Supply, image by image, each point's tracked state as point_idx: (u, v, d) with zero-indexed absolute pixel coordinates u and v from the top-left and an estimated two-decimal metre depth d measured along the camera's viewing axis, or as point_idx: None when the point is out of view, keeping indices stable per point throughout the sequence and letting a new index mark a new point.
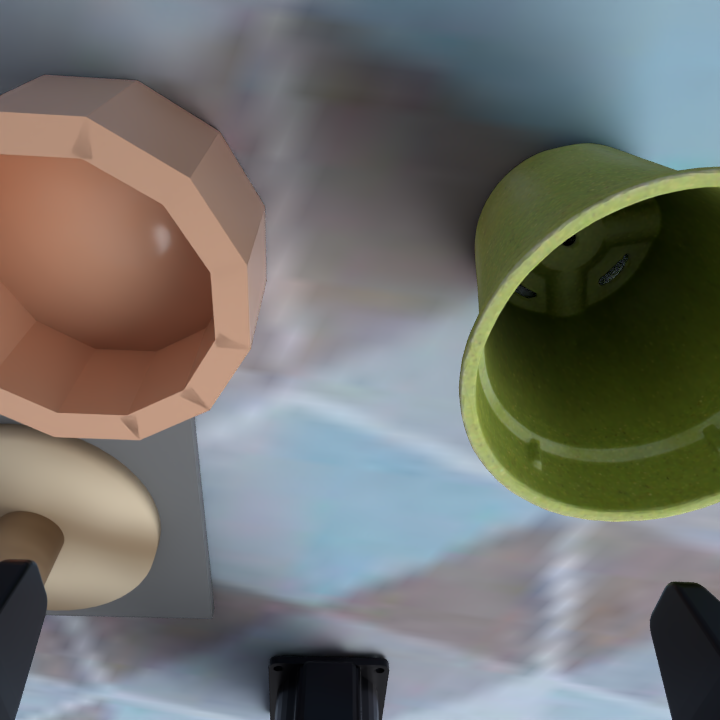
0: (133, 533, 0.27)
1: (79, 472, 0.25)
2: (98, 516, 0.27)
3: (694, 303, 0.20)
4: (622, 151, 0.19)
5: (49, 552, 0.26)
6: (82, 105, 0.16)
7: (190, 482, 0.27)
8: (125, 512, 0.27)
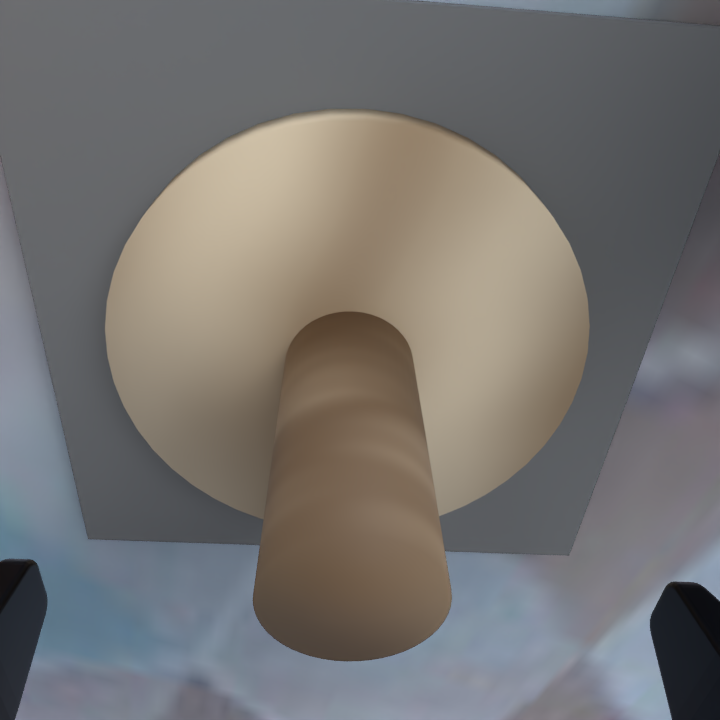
0: (349, 168, 0.12)
1: (167, 242, 0.12)
2: (293, 233, 0.12)
3: None
4: None
5: (335, 343, 0.12)
6: None
7: (240, 8, 0.11)
8: (280, 173, 0.12)
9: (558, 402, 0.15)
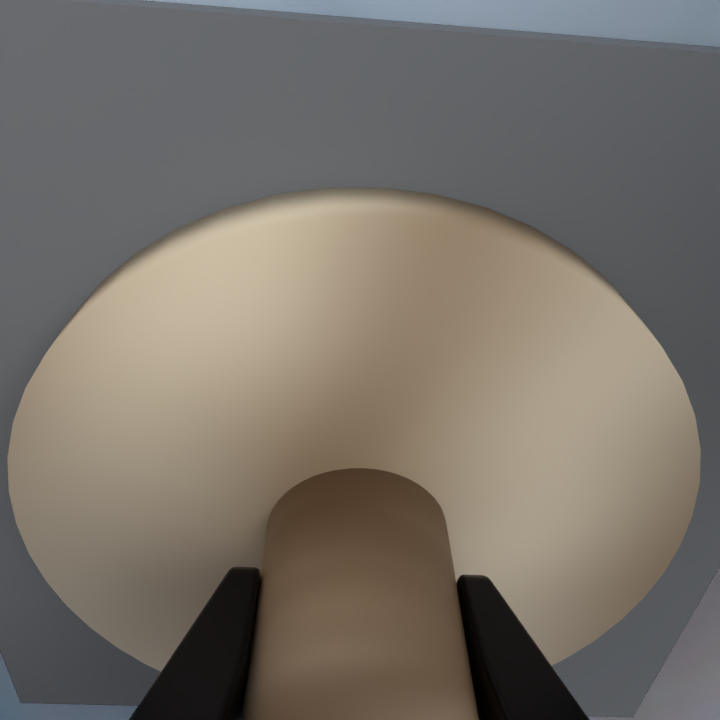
0: (358, 284, 0.08)
1: (88, 383, 0.08)
2: (274, 370, 0.08)
3: None
4: None
5: (337, 535, 0.08)
6: None
7: (189, 39, 0.07)
8: (253, 290, 0.08)
9: (644, 573, 0.11)
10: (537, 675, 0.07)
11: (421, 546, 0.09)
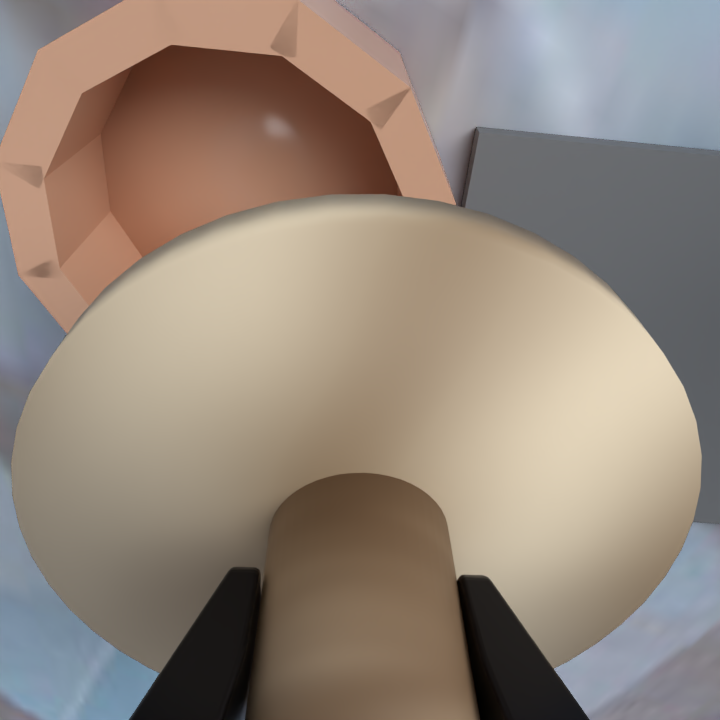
0: (361, 290, 0.08)
1: (92, 388, 0.08)
2: (278, 376, 0.08)
3: None
4: None
5: (339, 540, 0.08)
6: None
7: (646, 159, 0.18)
8: (255, 297, 0.08)
9: (646, 576, 0.11)
10: (537, 675, 0.07)
11: (423, 551, 0.09)
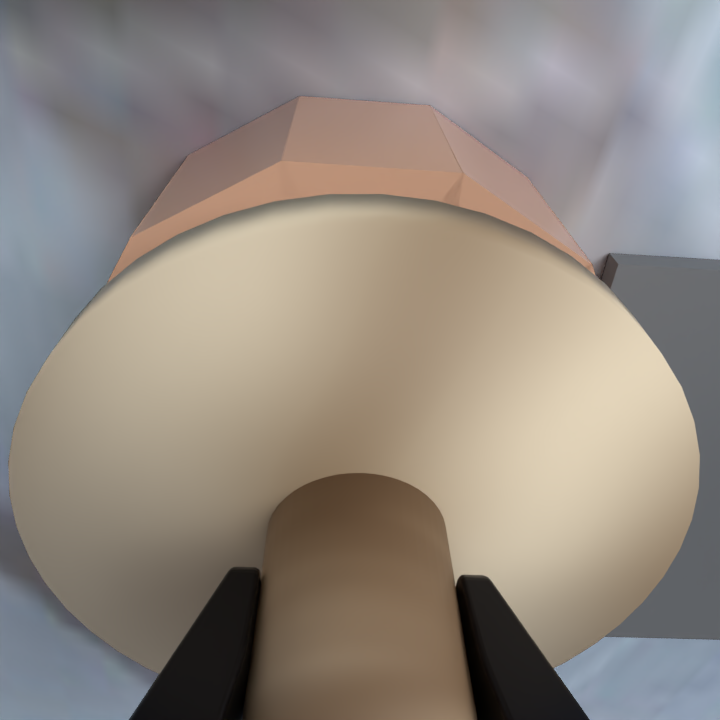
0: (358, 290, 0.08)
1: (89, 388, 0.08)
2: (275, 376, 0.08)
3: None
4: None
5: (336, 540, 0.08)
6: None
7: None
8: (253, 297, 0.08)
9: (644, 577, 0.11)
10: (537, 675, 0.07)
11: (421, 551, 0.09)
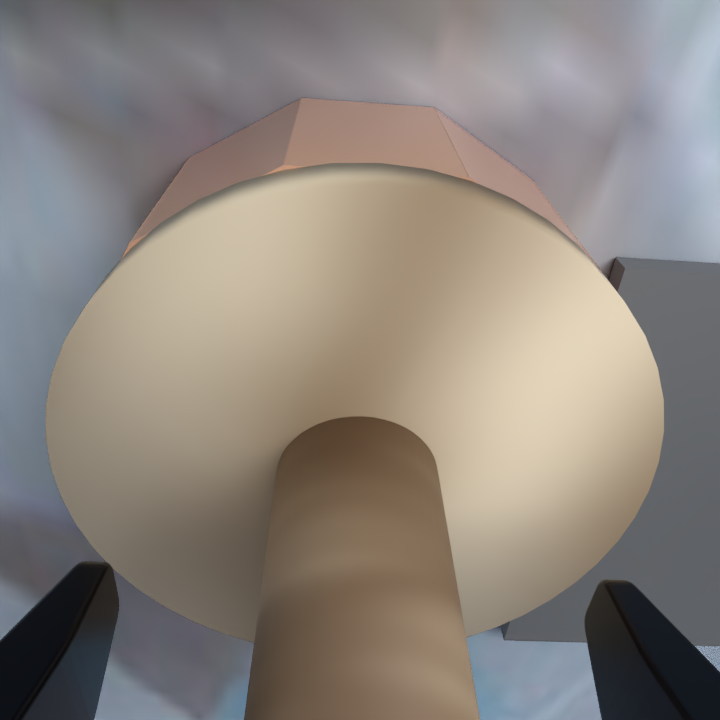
0: (358, 246, 0.09)
1: (120, 336, 0.10)
2: (285, 325, 0.09)
3: None
4: None
5: (339, 470, 0.09)
6: None
7: None
8: (266, 251, 0.09)
9: (617, 517, 0.12)
10: (708, 680, 0.08)
11: (414, 481, 0.10)
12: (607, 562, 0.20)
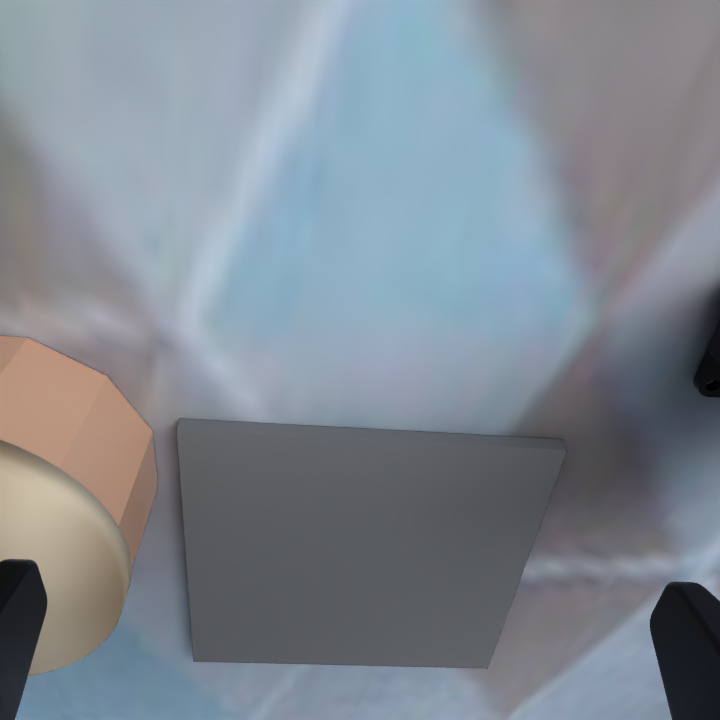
0: None
1: None
2: None
3: None
4: None
5: None
6: None
7: (311, 442, 0.23)
8: None
9: (112, 600, 0.20)
10: None
11: None
12: (246, 607, 0.28)
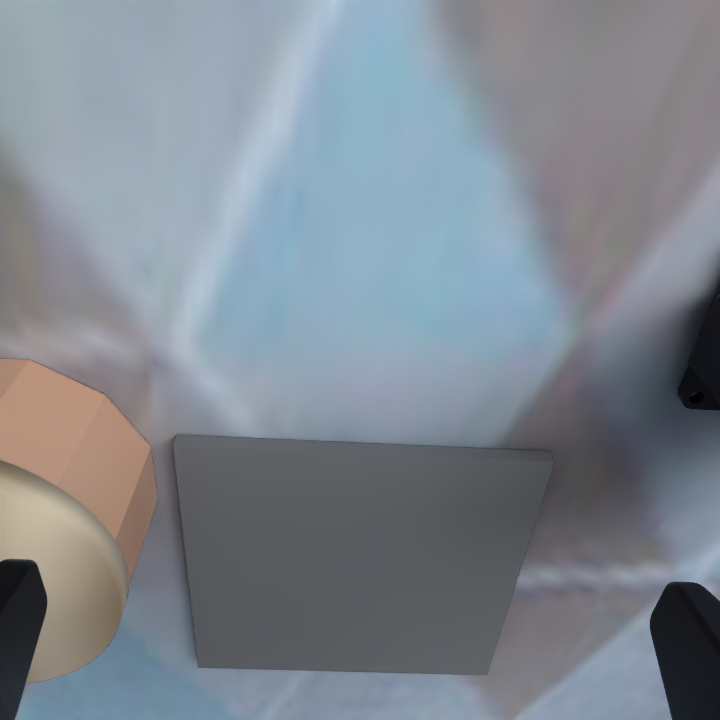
0: None
1: None
2: None
3: None
4: None
5: None
6: None
7: (302, 456, 0.24)
8: None
9: (110, 610, 0.21)
10: None
11: None
12: (247, 615, 0.29)
